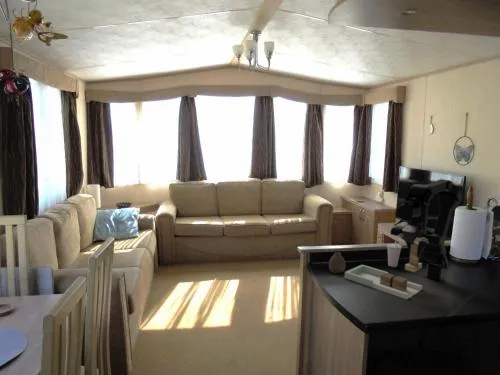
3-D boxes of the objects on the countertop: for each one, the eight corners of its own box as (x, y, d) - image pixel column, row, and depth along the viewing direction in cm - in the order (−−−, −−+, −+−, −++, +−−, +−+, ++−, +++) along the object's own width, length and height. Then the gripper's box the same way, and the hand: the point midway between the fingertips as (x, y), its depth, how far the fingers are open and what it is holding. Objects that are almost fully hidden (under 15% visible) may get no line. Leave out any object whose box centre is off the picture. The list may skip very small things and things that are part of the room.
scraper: (412, 265, 147) (415, 241, 146) (421, 268, 145) (424, 243, 143) (404, 269, 143) (407, 244, 141) (413, 272, 140) (416, 246, 139)
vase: (346, 271, 162) (347, 252, 161) (343, 276, 156) (344, 256, 154) (330, 268, 165) (331, 249, 163) (326, 273, 159) (328, 254, 157)
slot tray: (361, 272, 161) (362, 264, 161) (422, 291, 143) (423, 282, 142) (344, 280, 152) (344, 272, 151) (406, 301, 133) (407, 292, 133)
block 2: (396, 285, 145) (397, 276, 144) (406, 289, 142) (407, 279, 141) (391, 288, 142) (392, 278, 142) (402, 291, 139) (403, 281, 139)
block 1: (384, 282, 148) (385, 272, 148) (394, 285, 146) (395, 275, 145) (379, 284, 146) (380, 274, 145) (389, 287, 143) (390, 278, 142)
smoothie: (401, 268, 167) (403, 239, 165) (386, 267, 168) (388, 237, 166) (398, 264, 173) (401, 235, 171) (384, 262, 174) (386, 234, 172)
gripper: (385, 215, 142) (381, 254, 144) (435, 225, 129) (430, 267, 131) (398, 212, 150) (395, 249, 152) (447, 221, 136) (442, 261, 138)
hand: (414, 256), depth 143 cm, fingers closed on scraper, 2 cm apart
